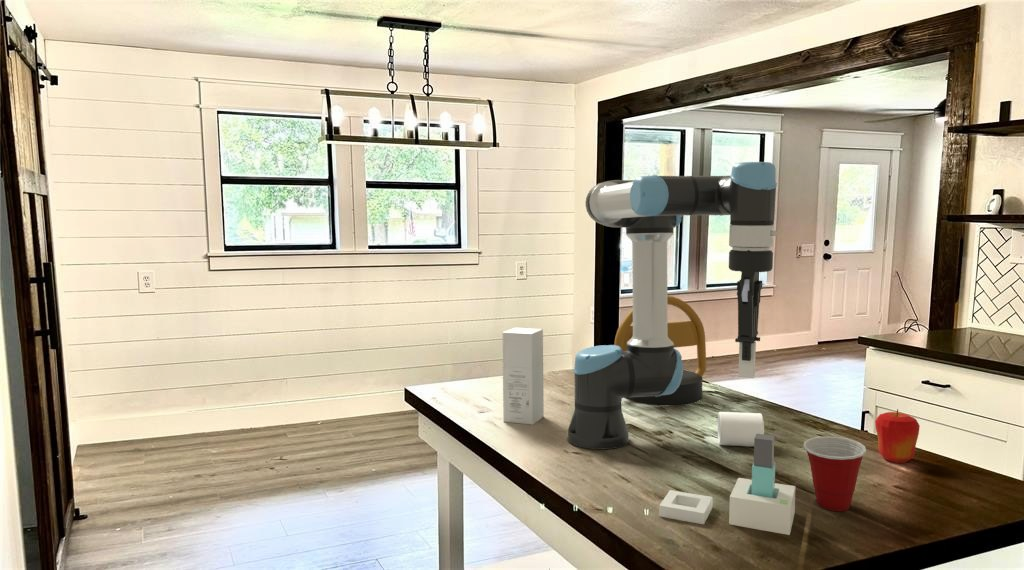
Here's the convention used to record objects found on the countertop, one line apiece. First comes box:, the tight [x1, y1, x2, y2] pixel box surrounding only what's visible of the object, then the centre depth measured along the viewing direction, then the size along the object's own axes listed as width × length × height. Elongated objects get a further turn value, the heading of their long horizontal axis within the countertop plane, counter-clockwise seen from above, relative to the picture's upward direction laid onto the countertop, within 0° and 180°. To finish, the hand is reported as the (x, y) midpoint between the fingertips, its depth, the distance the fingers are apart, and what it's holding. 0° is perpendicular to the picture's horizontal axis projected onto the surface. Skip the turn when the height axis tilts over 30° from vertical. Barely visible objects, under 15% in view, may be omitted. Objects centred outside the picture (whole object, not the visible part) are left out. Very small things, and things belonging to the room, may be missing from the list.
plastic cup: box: [803, 435, 867, 512], centre depth 131 cm, size 11×11×12 cm
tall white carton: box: [502, 327, 545, 426], centre depth 191 cm, size 9×9×25 cm
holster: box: [658, 489, 713, 525], centre depth 127 cm, size 8×8×3 cm
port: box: [728, 477, 796, 536], centre depth 124 cm, size 10×10×6 cm
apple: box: [874, 408, 921, 464], centre depth 156 cm, size 9×8×12 cm
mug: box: [717, 411, 765, 448], centre depth 170 cm, size 12×10×8 cm
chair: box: [613, 294, 707, 406], centre depth 216 cm, size 25×35×32 cm
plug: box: [751, 433, 776, 498], centre depth 124 cm, size 4×4×14 cm
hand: (746, 376), depth 127 cm, fingers closed
